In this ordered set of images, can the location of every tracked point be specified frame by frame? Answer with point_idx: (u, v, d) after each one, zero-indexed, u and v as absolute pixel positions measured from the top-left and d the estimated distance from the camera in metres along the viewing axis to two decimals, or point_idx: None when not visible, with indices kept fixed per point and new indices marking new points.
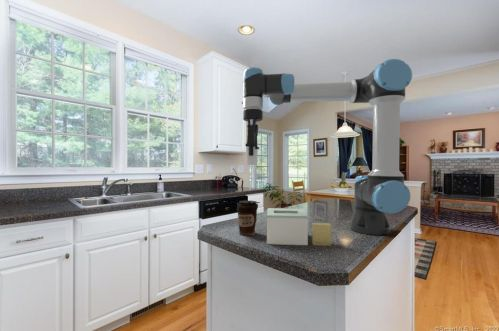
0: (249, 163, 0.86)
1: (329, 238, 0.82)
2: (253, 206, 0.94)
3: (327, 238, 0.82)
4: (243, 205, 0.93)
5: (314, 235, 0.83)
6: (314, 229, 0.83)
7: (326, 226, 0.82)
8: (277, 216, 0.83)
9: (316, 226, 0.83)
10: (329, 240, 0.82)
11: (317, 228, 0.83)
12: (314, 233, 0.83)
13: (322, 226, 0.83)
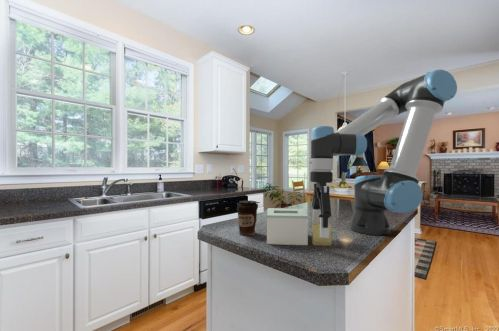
0: (322, 235, 0.77)
1: (329, 238, 0.82)
2: (253, 206, 0.94)
3: (327, 238, 0.82)
4: (243, 205, 0.93)
5: (314, 235, 0.83)
6: (314, 229, 0.83)
7: None
8: (277, 216, 0.83)
9: (316, 226, 0.83)
10: (329, 240, 0.82)
11: (317, 228, 0.83)
12: (314, 233, 0.83)
13: None
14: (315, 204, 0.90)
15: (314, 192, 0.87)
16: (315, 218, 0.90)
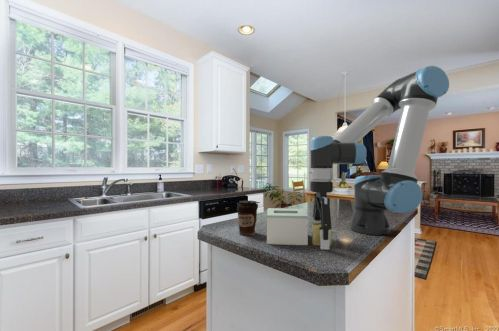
0: (323, 247, 0.78)
1: None
2: (253, 206, 0.94)
3: None
4: (243, 205, 0.93)
5: (314, 235, 0.83)
6: (314, 229, 0.83)
7: None
8: (277, 216, 0.83)
9: (316, 226, 0.83)
10: None
11: (317, 228, 0.83)
12: (314, 233, 0.83)
13: None
14: (316, 215, 0.89)
15: (315, 202, 0.87)
16: None
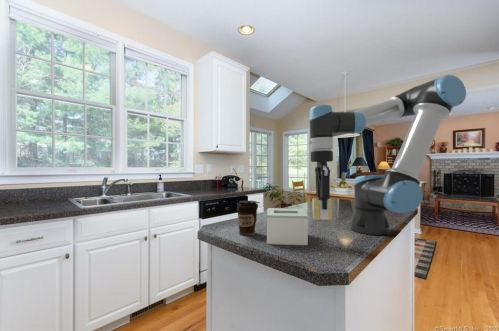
0: (322, 217, 0.82)
1: (330, 212, 0.82)
2: (253, 206, 0.94)
3: (328, 212, 0.83)
4: (243, 205, 0.93)
5: (315, 210, 0.83)
6: (314, 204, 0.83)
7: None
8: (277, 216, 0.83)
9: (316, 201, 0.83)
10: (330, 214, 0.82)
11: (317, 203, 0.83)
12: (315, 208, 0.83)
13: None
14: (319, 190, 0.86)
15: (316, 174, 0.86)
16: None
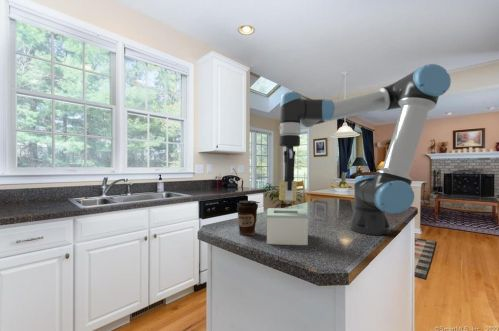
0: (287, 198, 0.87)
1: (294, 194, 0.88)
2: (253, 206, 0.94)
3: (293, 194, 0.88)
4: (243, 205, 0.93)
5: (280, 191, 0.88)
6: (281, 185, 0.88)
7: None
8: (277, 216, 0.83)
9: (283, 182, 0.88)
10: (294, 195, 0.88)
11: (283, 184, 0.88)
12: (281, 189, 0.88)
13: None
14: (286, 173, 0.91)
15: (284, 158, 0.91)
16: None
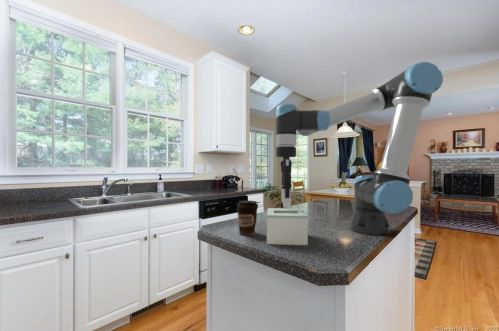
0: (285, 205, 0.84)
1: None
2: (253, 206, 0.94)
3: None
4: (243, 205, 0.93)
5: None
6: None
7: None
8: (277, 216, 0.83)
9: None
10: None
11: None
12: None
13: None
14: (283, 180, 0.95)
15: (281, 167, 0.93)
16: None
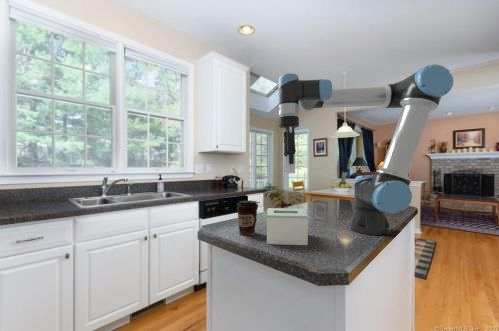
0: (289, 171, 0.84)
1: None
2: (253, 206, 0.94)
3: None
4: (243, 205, 0.93)
5: None
6: None
7: None
8: (277, 216, 0.83)
9: None
10: None
11: None
12: None
13: None
14: (286, 151, 0.97)
15: None
16: (286, 164, 0.97)
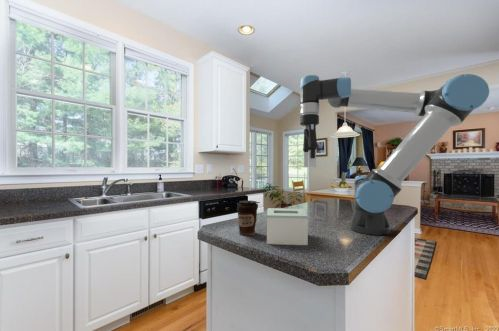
0: (310, 165, 0.91)
1: None
2: (253, 206, 0.94)
3: None
4: (243, 205, 0.93)
5: None
6: None
7: None
8: (277, 216, 0.83)
9: None
10: None
11: None
12: None
13: None
14: (305, 147, 1.04)
15: (304, 135, 1.01)
16: (305, 159, 1.05)
